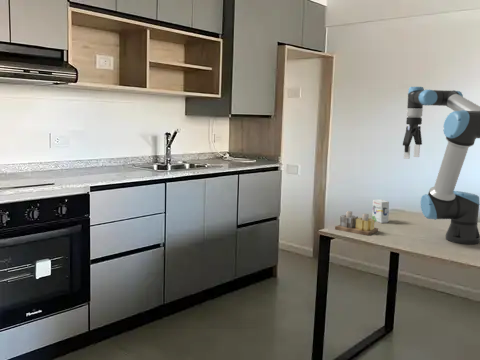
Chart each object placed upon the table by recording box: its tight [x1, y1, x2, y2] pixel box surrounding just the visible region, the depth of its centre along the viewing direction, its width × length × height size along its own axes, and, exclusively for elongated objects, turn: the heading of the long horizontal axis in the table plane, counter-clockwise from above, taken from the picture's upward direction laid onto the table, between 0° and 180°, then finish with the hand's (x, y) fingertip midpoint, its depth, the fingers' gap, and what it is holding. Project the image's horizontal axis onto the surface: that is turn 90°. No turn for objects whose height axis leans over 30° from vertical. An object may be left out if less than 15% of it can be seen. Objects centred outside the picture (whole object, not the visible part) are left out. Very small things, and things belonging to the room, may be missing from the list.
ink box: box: [371, 198, 390, 224], centre depth 276 cm, size 9×5×12 cm, turn 21°
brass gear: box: [355, 217, 376, 231], centre depth 251 cm, size 8×8×5 cm
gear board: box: [334, 210, 379, 236], centre depth 254 cm, size 18×12×9 cm, turn 50°
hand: (411, 157), depth 261 cm, fingers open, 13 cm apart
